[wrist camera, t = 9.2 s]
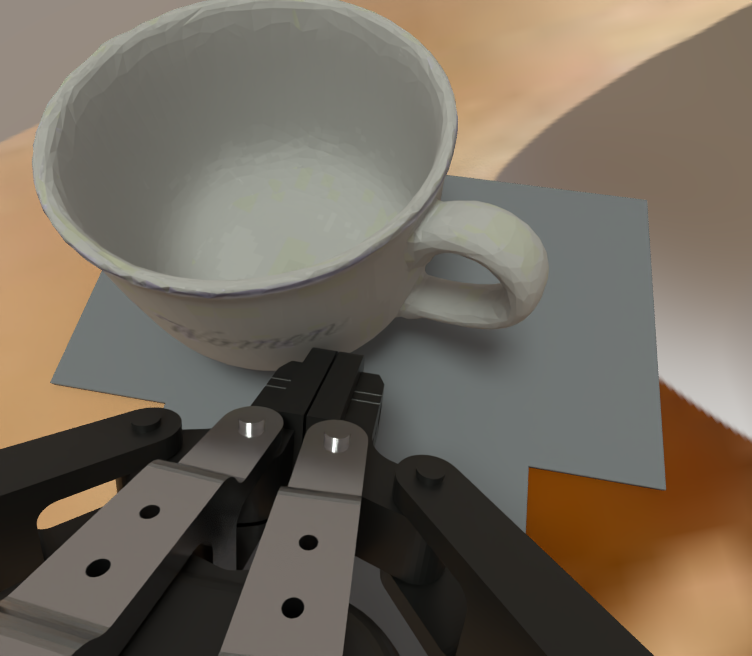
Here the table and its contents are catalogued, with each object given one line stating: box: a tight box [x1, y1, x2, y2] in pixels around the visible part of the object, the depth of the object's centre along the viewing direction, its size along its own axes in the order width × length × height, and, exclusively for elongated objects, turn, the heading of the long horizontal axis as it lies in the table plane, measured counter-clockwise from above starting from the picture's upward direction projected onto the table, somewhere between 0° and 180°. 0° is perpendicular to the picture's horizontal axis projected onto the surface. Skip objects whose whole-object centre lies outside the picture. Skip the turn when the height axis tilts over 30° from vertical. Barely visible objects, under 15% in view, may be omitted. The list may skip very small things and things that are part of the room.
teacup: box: [32, 0, 549, 371], centre depth 15 cm, size 14×11×8 cm
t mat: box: [50, 175, 666, 656], centre depth 16 cm, size 22×25×1 cm
